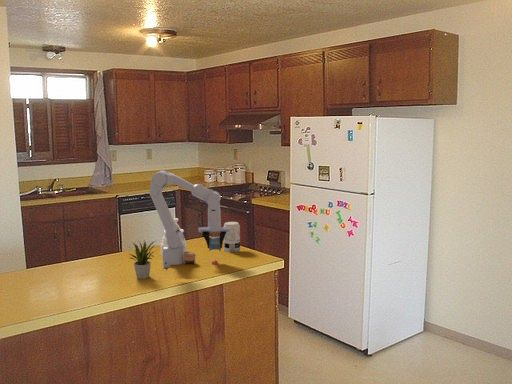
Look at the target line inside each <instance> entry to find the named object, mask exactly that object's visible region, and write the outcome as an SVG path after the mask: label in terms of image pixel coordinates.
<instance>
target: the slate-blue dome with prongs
mask: <svg viewBox="0 0 512 384" xmlns="http://www.w3.org/2000/svg"><path fill="white" fill-rule="evenodd" d="M208 249H209V250H208V251H209V252H211V251H213V250H218V251H219V252H221V249H222V248H220V236H209V248H208Z"/></svg>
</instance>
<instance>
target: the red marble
mask: <svg viewBox="0 0 512 384" xmlns="http://www.w3.org/2000/svg"><path fill="white" fill-rule="evenodd" d="M218 264H219V262H218V260H215V259H214V260H212V261H211V265H218Z"/></svg>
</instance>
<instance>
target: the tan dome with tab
mask: <svg viewBox="0 0 512 384" xmlns="http://www.w3.org/2000/svg"><path fill="white" fill-rule="evenodd" d="M189 263H193V265H196V263H197V261H196V253H195V252H184V263H183V265H186V264H189Z"/></svg>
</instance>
